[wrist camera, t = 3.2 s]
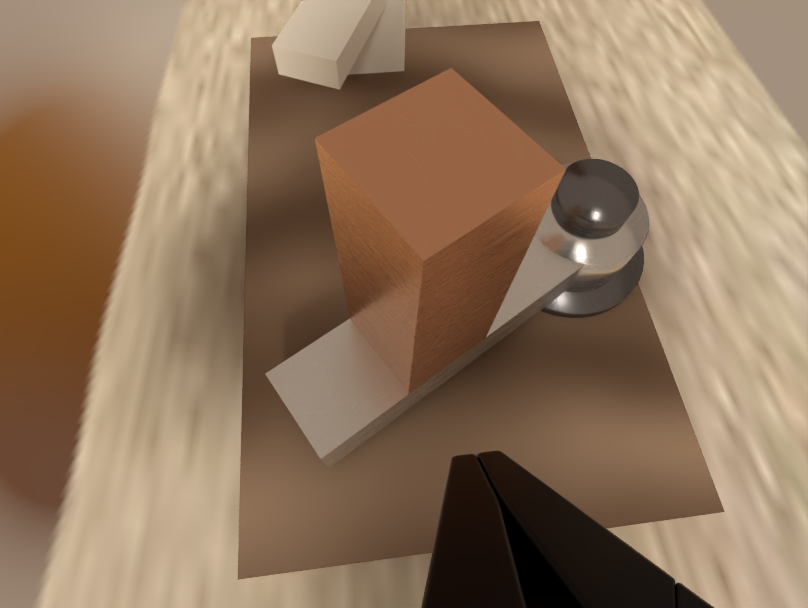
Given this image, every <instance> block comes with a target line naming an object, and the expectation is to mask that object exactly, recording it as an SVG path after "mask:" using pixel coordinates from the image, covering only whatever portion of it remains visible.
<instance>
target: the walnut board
mask: <svg viewBox="0 0 808 608" xmlns="http://www.w3.org/2000/svg"><path fill="white" fill-rule="evenodd" d="M277 37H278V36H276V37H259V38H251V63H250V104H249V144H248V185H247V226H246V266H245V307H244V348H243V388H242V429H241V469H240V510H239V551H238V579H245V578H252V577H259V576H266V575H273V574H281V573H288V572H295V571H302V570H309V569H316V568H324V567H331V566H338V565H345V564H352V563H360V562H367V561H374V560H381V559H388V558H396V557H403V556H410V555H417V554H424V553H432V552H433V548H434V543H435V538H436V533H437V528H438V523H439V518H440V513H441V508H442V503H443V498H444V493H445V488H446V483H447V478H448V473H449V468H450V463H451V459H452V457H453V456H457V455H465V454H474V455H476V456H477V454H478V453H481V452H489V451H501V452H503V453H504V454H505V455H507V456H508V457H510V458H511V459H512V460H514V461H515V462H516V463H518V464H519V465H520V466H522V467H523V468H525V469H526V470H527V471H529V472H530V473H531V474H533V475H534V476H535V477H537V478H538V479H539V480H541V481H542V482H544V483H545V484H546V485H548V486H549V487H550V488H552V489H553V490H554V491H556V492H557V493H558V494H560V495H561V496H563V497H564V498H565V499H567V500H568V501H569V502H571V503H572V504H573V505H575V506H576V507H578V508H579V509H580V510H582V511H583V512H584V513H586V514H587V515H588V516H590V517H591V518H592V519H594V520H595V521H597V522H598V523H599V524H601V525H602V526H603V527H605V528H612V527H619V526H626V525H633V524H640V523H648V522H655V521H662V520H669V519H676V518H684V517H691V516H698V515H705V514H712V513H719V512H724V509H723V507H722V504H721V501H720V499H719V496H718V493H717V491H716V488H715V485H714V483H713V480H712V478H711V475H710V472H709V470H708V467H707V464H706V462H705V459H704V456H703V454H702V451H701V448H700V446H699V443H698V441H697V438H696V435H695V433H694V430H693V427H692V425H691V422H690V419H689V417H688V414H687V411H686V409H685V406H684V403H683V401H682V398H681V396H680V393H679V390H678V388H677V385H676V382H675V380H674V377H673V374H672V372H671V369H670V366H669V364H668V361H667V358H666V356H665V353H664V351H663V348H662V345H661V343H660V340H659V337H658V335H657V332H656V329H655V327H654V324H653V321H652V319H651V316H650V314H649V311H648V308H647V306H646V303H645V300H644V298H643V295H642V292H641V290H640V287H639V284H638V283H637V285H636V287H635V288H634V289H633V291H632V292H631V293H630V294H629V295H628V296H627V297H626V298H625V299H624V300H623V301H622V302H621V303H620V304H618V305H617V306H615V307H614V308H613V309H611V310H608V311H606V312H604V313H601V314H598V315H595V316H590V317H582V318H569V317H561V316H555V315H551V314H548V313H545V312H542V311H539V312H538V313H536V314H535V315H534V316H532V317H531V318H530V319H528V320H527V321H526V322H524V323H523V324H522V325H520V326H519V327H518V328H516V329H515V330H514V331H512V332H511V333H510V334H508V335H507V336H506V337H504V338H503V339H502V340H500V341H499V342H498V343H496V344H495V345H494V346H492V347H491V348H490V349H488V350H487V351H486V352H484V353H483V354H482V355H480V356H479V357H478V358H476V359H475V360H474V361H472V362H471V363H470V364H468V365H467V366H466V367H464V368H463V369H461V370H460V371H459V372H457V373H456V374H455V375H453V376H452V377H451V378H449V379H448V380H447V381H445V382H444V383H443V384H441V385H440V386H439V387H437V388H436V389H435V390H433V391H432V392H431V393H429V394H428V395H427V396H425V397H424V398H423V399H421V400H420V401H419V402H417V403H416V404H415V405H413V406H412V407H411V408H409V409H408V410H407V411H405V412H404V413H403V414H401V415H400V416H399V417H397V418H396V419H395V420H393V421H392V422H391V423H389V424H388V425H387V426H385V427H384V428H383V429H381V430H380V431H379V432H377V433H376V434H374V435H373V436H372V437H370V438H369V439H368V440H366V441H365V442H364V443H362V444H361V445H360V446H358V447H357V448H356V449H354V450H353V451H352V452H350V453H349V454H348V455H346V456H345V457H344V458H342V459H341V460H340V461H338V462H337V463H336V464H334V465H333V466H332V467H330V468H329V467H328V466H327V465H326V464H325V463H324V462H323V461H322V460H321V459H320V457H319V456H318V454H317V453H316V451H315V450H314V448H313V447H312V445H311V444H310V442H309V441H308V439H307V437H306V436H305V434H304V433H303V431H302V430H301V428H300V427H299V425H298V424H297V422H296V421H295V419H294V417H293V416H292V414H291V413H290V411H289V410H288V408H287V407H286V405H285V404H284V402H283V401H282V399H281V397H280V396H279V394H278V393H277V391H276V390H275V388H274V387H273V385H272V384H271V382H270V381H269V379H268V377H267V376H266V373H267V372H269V371H270V370H272V369H273V368H275V367H276V366H278V365H279V364H281V363H282V362H284V361H285V360H287V359H289V358H290V357H292V356H293V355H295V354H296V353H298V352H299V351H301V350H302V349H304V348H305V347H307V346H308V345H310V344H312V343H313V342H315V341H316V340H318V339H319V338H321V337H322V336H324V335H325V334H327V333H328V332H330V331H331V330H333V329H334V328H336V327H338V326H339V325H341V324H342V323H344V322H345V321H347V320H348V319H350V316H349V311H348V306H347V301H346V295H345V290H344V285H343V280H342V275H341V270H340V265H339V260H338V255H337V250H336V244H335V239H334V234H333V229H332V224H331V219H330V214H329V209H328V204H327V199H326V193H325V188H324V183H323V178H322V173H321V168H320V163H319V158H318V153H317V148H316V142H315V138H316V137H318V136H320V135H321V134H323V133H325V132H327V131H329V130H331V129H333V128H335V127H337V126H339V125H341V124H343V123H345V122H347V121H349V120H351V119H353V118H355V117H356V116H358V115H360V114H362V113H364V112H366V111H368V110H370V109H372V108H374V107H376V106H378V105H380V104H382V103H384V102H386V101H388V100H389V99H391V98H393V97H395V96H397V95H399V94H401V93H403V92H405V91H407V90H409V89H411V88H413V87H415V86H417V85H419V84H421V83H423V82H424V81H426V80H428V79H430V78H432V77H434V76H436V75H438V74H440V73H442V72H444V71H446V70H448V69H450V68H452V69H453V70H454V71H456V72H457V73H458V74H459V75H460V76H461V77H462V78H464V79H465V80H466V81H467V82H468V83H469V84H470V85H471V86H473V87H474V88H475V89H476V90H477V91H478V92H479V93H481V94H482V95H483V96H484V97H485V98H486V99H487V100H488V101H490V102H491V103H492V104H493V105H494V106H495V107H496V108H498V109H499V110H500V111H501V112H502V113H503V114H504V115H505V116H507V117H508V118H509V119H510V120H511V121H512V122H513V123H515V124H516V125H517V126H518V127H519V128H520V129H521V130H522V131H524V132H525V133H526V134H527V135H528V136H529V137H530V138H532V139H533V140H534V141H535V142H536V143H537V144H538V145H539V146H541V147H542V148H543V149H544V150H545V151H546V152H547V153H549V154H550V155H551V156H552V157H553V158H554V159H555V160H556V161H558V162H559V163H560V164H567V163H574V162H577V161H579V160H583V159H591V157H590V155H589V152H588V150H587V147H586V144H585V142H584V139H583V136H582V134H581V131H580V128H579V126H578V123H577V120H576V118H575V115H574V112H573V110H572V107H571V105H570V102H569V99H568V97H567V94H566V91H565V89H564V86H563V83H562V81H561V78H560V75H559V73H558V70H557V68H556V65H555V62H554V60H553V57H552V54H551V52H550V49H549V46H548V44H547V41H546V38H545V36H544V33H543V30H542V28H541V25H540V23H539V21H533V22H516V23H499V24H482V25H464V26H447V27H430V28H413V29H405V60H404V71H397V72H382V73H367V74H351V75H347V77H346V79H345V81H344V83H343V84H342V86H341V88H340V90H339V89H335V88H331V87H327V86H323V85H319V84H315V83H311V82H307V81H304V80H300V79H296V78H292V77H288V76H284V75H280V74H279V73H278V69H277V65H276V61H275V57H274V53H273V49H272V44H273V43H274V41H275V40H276V38H277Z"/></svg>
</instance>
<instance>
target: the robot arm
mask: <svg viewBox="0 0 808 608" xmlns="http://www.w3.org/2000/svg"><path fill="white" fill-rule="evenodd" d="M421 608H714V607H713V606H711V605H710V604H708V603H707V602H706V601H704V600H703V599H702V598H700V597H699V596H697V595H696V594H695V593H693V592H692V591H691V590H689V589H688V588H687V587H685V586H684V585H683V584H681V583H677V584H676V585H675V579H674V578H673V577H671V576H670V575H669V574H667V573H666V572H665V571H663V570H662V569H660V568H659V567H658V566H656V565H655V564H654V563H652V562H651V561H650V560H648V559H647V558H645V557H644V556H643V555H641V554H640V553H639V552H637V551H636V550H635V549H633V548H632V547H631V546H629V545H628V544H626V543H625V542H624V541H622V540H621V539H620V538H618V537H617V536H616V535H614V534H613V533H612V532H610V531H609V530H607V529H606V528H605V527H603V526H602V525H601V524H599V523H598V522H597V521H595V520H594V519H592V518H591V517H590V516H588V515H587V514H586V513H584V512H583V511H582V510H580V509H579V508H578V507H576V506H575V505H573V504H572V503H571V502H569V501H568V500H567V499H565V498H564V497H563V496H561V495H560V494H558V493H557V492H556V491H554V490H553V489H552V488H550V487H549V486H548V485H546V484H545V483H544V482H542V481H541V480H539V479H538V478H537V477H535V476H534V475H533V474H531V473H530V472H529V471H527V470H526V469H525V468H523V467H522V466H520V465H519V464H518V463H516V462H515V461H514V460H512V459H511V458H510V457H508V456H507V455H505V454H504V453H503V452H501V451H489V452H481V453H478V454H477V456H476V455H474V454H465V455H457V456H453V457H452V459H451V463H450V468H449V473H448V478H447V483H446V488H445V493H444V498H443V503H442V508H441V513H440V518H439V523H438V528H437V533H436V538H435V543H434V548H433V553H432V558H431V562H430V567H429V572H428V577H427V582H426V587H425V592H424V597H423V602H422V607H421Z"/></svg>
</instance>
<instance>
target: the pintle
mask: <svg viewBox="0 0 808 608" xmlns="http://www.w3.org/2000/svg"><path fill="white" fill-rule="evenodd" d="M638 201H639V191H638V188H637V185H636V183H635V181H634V180H633V178H632V177H631V176H630V175H629V174H628V173H627V172H626V171H625V170H624V169H622V168H621V167H619V166H617V165H615V164H613V163H611V162H608V161H605V160H600V159H583V160H579V161H577V162H574V163H572V164H571V165H569V166H568V167H567V168H566V170H565V172H564V175H563V177H562V179H561V181H560V183H559V185H558V187H557V189H556V191H555V193H554V196H553V198H552V200H551V209H552V213H553V215H554V217H555V219H556V220H557V221H558V223H559V224H560V225H561V226H562V227H564V228H565V229H566V230H568V231H569V232H571V233H573V234H575V235H577V236H580V237H583V238H588V239H602V238H606V237H609V236H612V235H613V234H615V233H616V232H618V231H619V230H620V229H621V227H622V226H623V225H624V223H625V222H626V221H627V219H628V218H629V217H630V215H631V214H632V213H633V211H634V210H635V208H636V207H637V205H638ZM643 264H644V253H643V247H642V246H641V247H640V249H639V250H638V251H637V252H636V253H635V255H634V256H633V257H632V258H631V259H630V260H629V261H628V263H627V264H626V265H625V266H624V267H623V268H622V270H621V271H620V272H619V273H618V274H617V275H616V276H615V278H614V279H613V280H611V281H610V282H609V283H608V284H606V285H605V286H603V287H601V288H598V289H596V290H592V291H588V292H578V293H574V292H565V293H563V294H562V295H561V296H559V297H558V298H557V299H555V300H554V301H552V302H551V303H550V304H548V305H547V306H546V307H544V308H543V309H542V310H540V311H542V312H545V313H548V314H551V315H555V316H561V317H569V318H582V317H590V316H595V315H598V314H601V313H604V312H606V311H608V310H611V309H613V308H614V307H615V306H617V305H618V304H620V303H621V302H622V301H623V300H624V299H625V298H626V297H627V296H628V295H629V294H630V293H631V292H632V291H633V289H634V288H635V287H636V285H637V283H638V281H639V279H640V277H641V274H642V271H643Z"/></svg>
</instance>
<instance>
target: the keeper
mask: <svg viewBox="0 0 808 608" xmlns="http://www.w3.org/2000/svg"><path fill="white" fill-rule="evenodd" d="M405 21H406V0H302V2H301V3H300V5H299V6H298V8H297V9H296V10H295V12H294V13H293V15H292V16H291V18H290V19H289V21H288V22H287V24H286V25H285V27H284V28H283V30H282V31H281V33H280V34H279V35H278V37H277V38H276V40H275V41H274V43H273V44H272V49H273V53H274V57H275V61H276V65H277V69H278V73H279V74H280V75H284V76H288V77H292V78H296V79H300V80H304V81H307V82H311V83H315V84H319V85H323V86H327V87H331V88H335V89H339V90H340V88H341V86H342V84H343V83H344V81H345V79H346V77H347V75H351V74H367V73H382V72H397V71H404V60H405Z"/></svg>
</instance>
